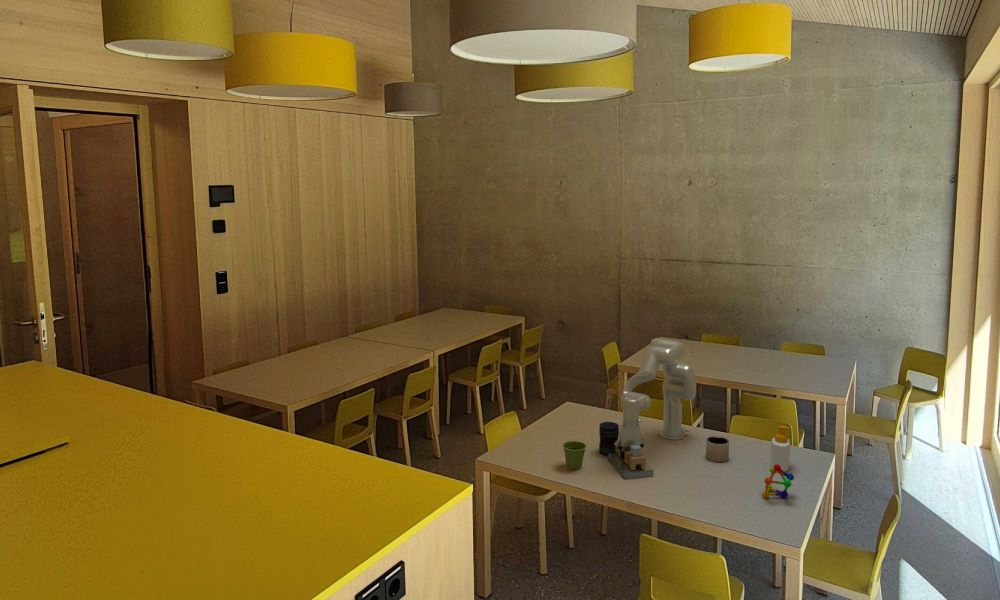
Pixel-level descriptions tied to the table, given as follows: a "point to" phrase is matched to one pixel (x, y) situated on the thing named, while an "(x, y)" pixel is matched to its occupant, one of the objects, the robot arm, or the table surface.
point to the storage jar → (608, 437)
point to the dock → (625, 469)
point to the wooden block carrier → (632, 459)
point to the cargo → (635, 450)
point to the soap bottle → (780, 449)
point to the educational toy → (777, 482)
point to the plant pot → (574, 454)
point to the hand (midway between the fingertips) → (630, 457)
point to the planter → (717, 449)
